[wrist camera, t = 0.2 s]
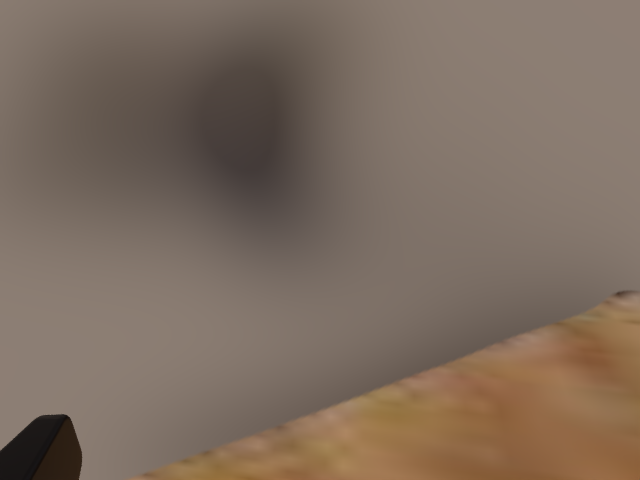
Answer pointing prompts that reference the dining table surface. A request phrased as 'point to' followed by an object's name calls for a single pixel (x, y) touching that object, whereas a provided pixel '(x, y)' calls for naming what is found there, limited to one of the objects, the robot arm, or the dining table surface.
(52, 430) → the robot arm
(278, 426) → the dining table surface
